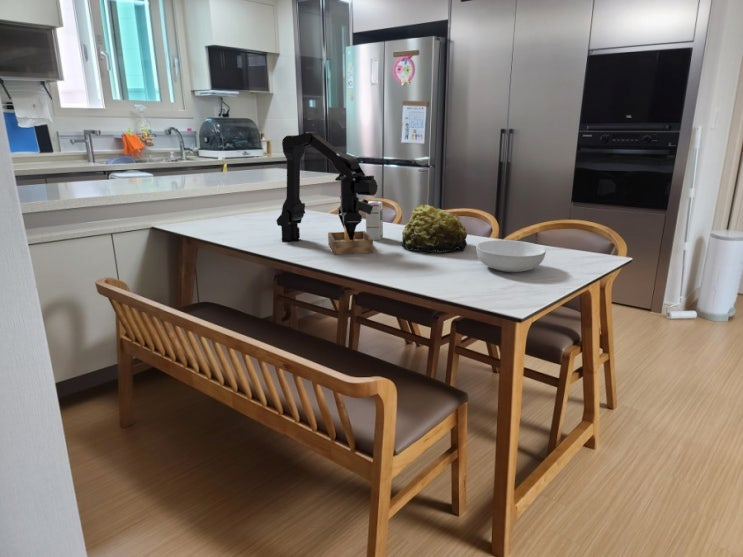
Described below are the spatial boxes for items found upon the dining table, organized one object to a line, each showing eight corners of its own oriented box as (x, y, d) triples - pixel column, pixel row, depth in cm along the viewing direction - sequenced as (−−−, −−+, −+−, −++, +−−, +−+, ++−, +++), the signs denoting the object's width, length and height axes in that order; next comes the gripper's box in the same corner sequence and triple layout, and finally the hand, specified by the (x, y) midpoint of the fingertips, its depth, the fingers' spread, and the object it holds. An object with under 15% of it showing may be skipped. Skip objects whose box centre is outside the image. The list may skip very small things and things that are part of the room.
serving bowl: (502, 281, 147) (504, 258, 145) (462, 264, 165) (463, 243, 163) (559, 273, 155) (561, 251, 153) (514, 257, 173) (516, 237, 171)
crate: (333, 254, 178) (333, 242, 177) (328, 244, 194) (328, 232, 193) (372, 252, 180) (372, 240, 179) (364, 242, 197) (364, 230, 195)
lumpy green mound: (389, 243, 196) (390, 202, 192) (445, 237, 205) (446, 198, 200) (419, 258, 174) (420, 211, 169) (480, 251, 182) (482, 207, 178)
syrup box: (380, 240, 200) (380, 203, 196) (365, 239, 201) (365, 202, 197) (383, 237, 206) (383, 201, 201) (368, 236, 207) (368, 200, 203)
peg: (345, 249, 185) (345, 225, 183) (344, 247, 189) (343, 223, 186) (355, 249, 186) (355, 224, 183) (353, 247, 189) (353, 222, 187)
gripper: (376, 196, 174) (376, 241, 179) (366, 190, 192) (366, 231, 196) (343, 197, 172) (344, 243, 177) (337, 191, 190) (338, 232, 194)
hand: (349, 237), depth 186 cm, fingers open, 9 cm apart
